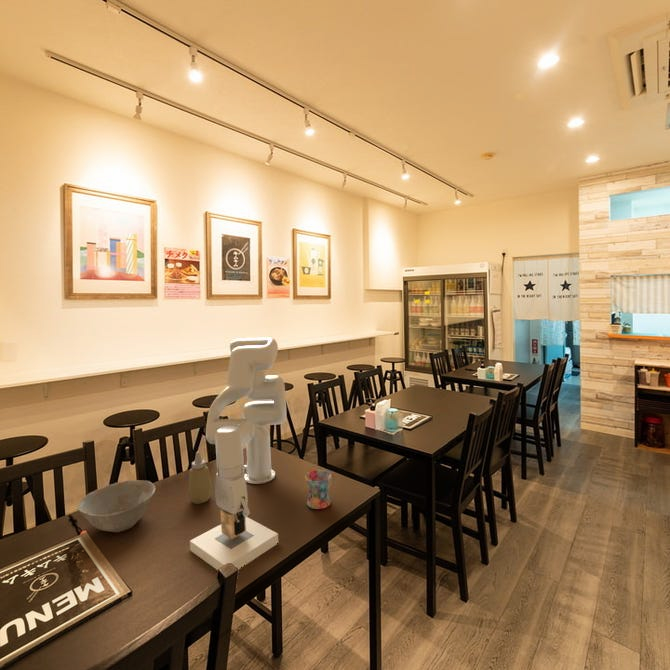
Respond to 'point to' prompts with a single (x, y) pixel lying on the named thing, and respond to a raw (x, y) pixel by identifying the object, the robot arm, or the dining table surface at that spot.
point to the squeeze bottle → (199, 481)
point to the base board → (234, 545)
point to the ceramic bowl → (117, 505)
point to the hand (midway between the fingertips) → (233, 528)
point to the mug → (318, 488)
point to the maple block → (229, 523)
